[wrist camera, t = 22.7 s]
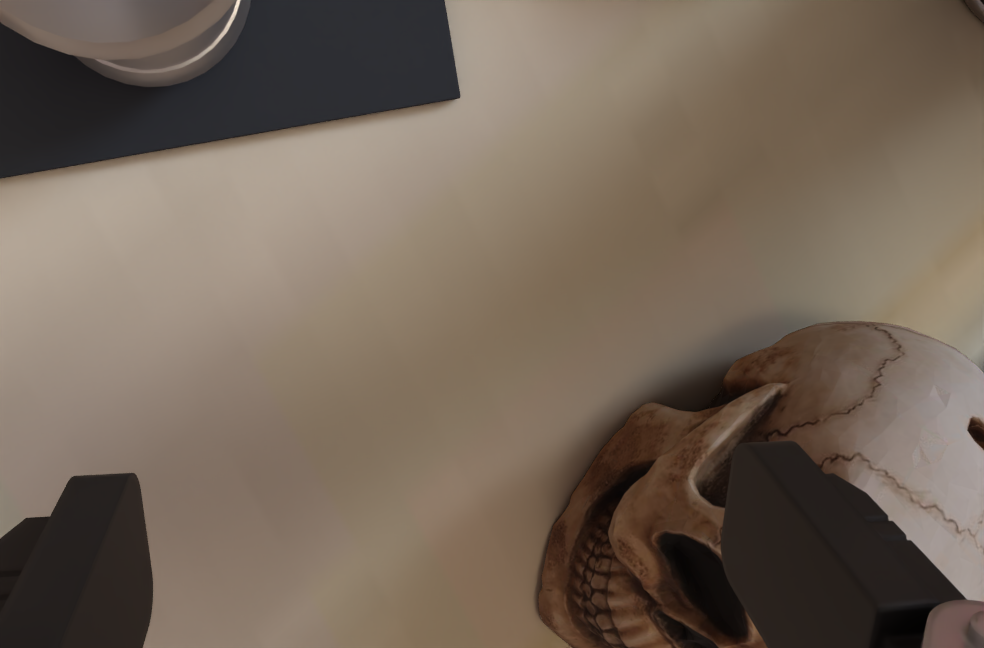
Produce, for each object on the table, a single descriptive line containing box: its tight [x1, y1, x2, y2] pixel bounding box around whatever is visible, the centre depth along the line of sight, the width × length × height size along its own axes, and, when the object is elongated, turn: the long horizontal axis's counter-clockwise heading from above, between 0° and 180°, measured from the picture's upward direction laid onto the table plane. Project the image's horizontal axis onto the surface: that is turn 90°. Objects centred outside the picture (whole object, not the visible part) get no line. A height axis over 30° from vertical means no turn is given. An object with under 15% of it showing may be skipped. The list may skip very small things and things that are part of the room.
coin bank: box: [538, 321, 984, 648], centre depth 37 cm, size 16×17×13 cm
